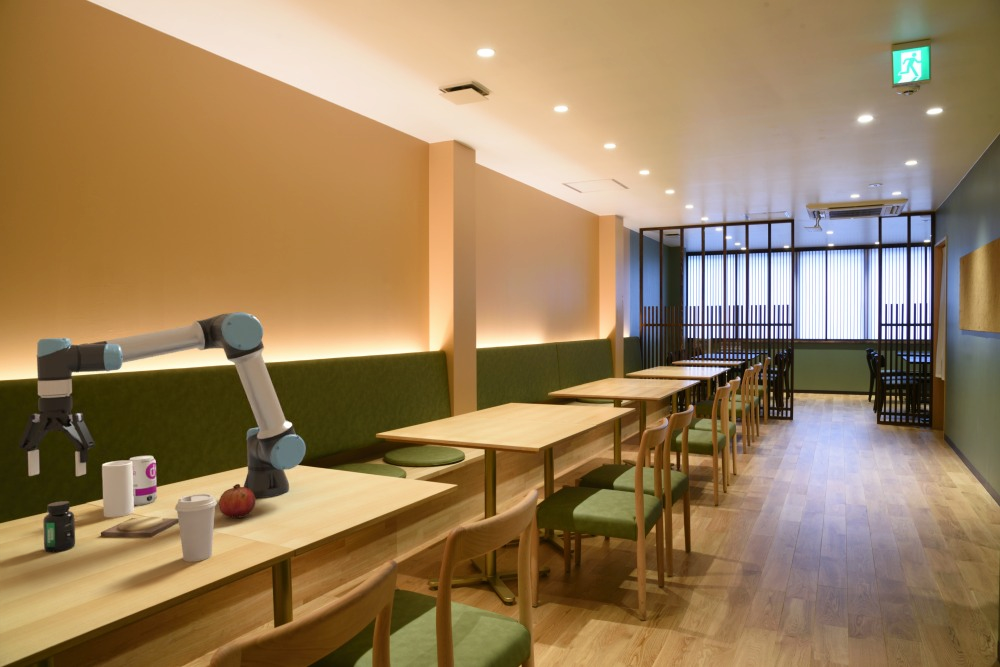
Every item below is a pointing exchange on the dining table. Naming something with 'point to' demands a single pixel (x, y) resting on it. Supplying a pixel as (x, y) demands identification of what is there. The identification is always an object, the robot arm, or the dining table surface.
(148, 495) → the supplement can
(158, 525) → the walnut board
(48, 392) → the robot arm
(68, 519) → the supplement bottle
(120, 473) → the cup
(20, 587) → the dining table surface
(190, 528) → the coffee cup
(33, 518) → the dining table surface
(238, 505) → the fruit
